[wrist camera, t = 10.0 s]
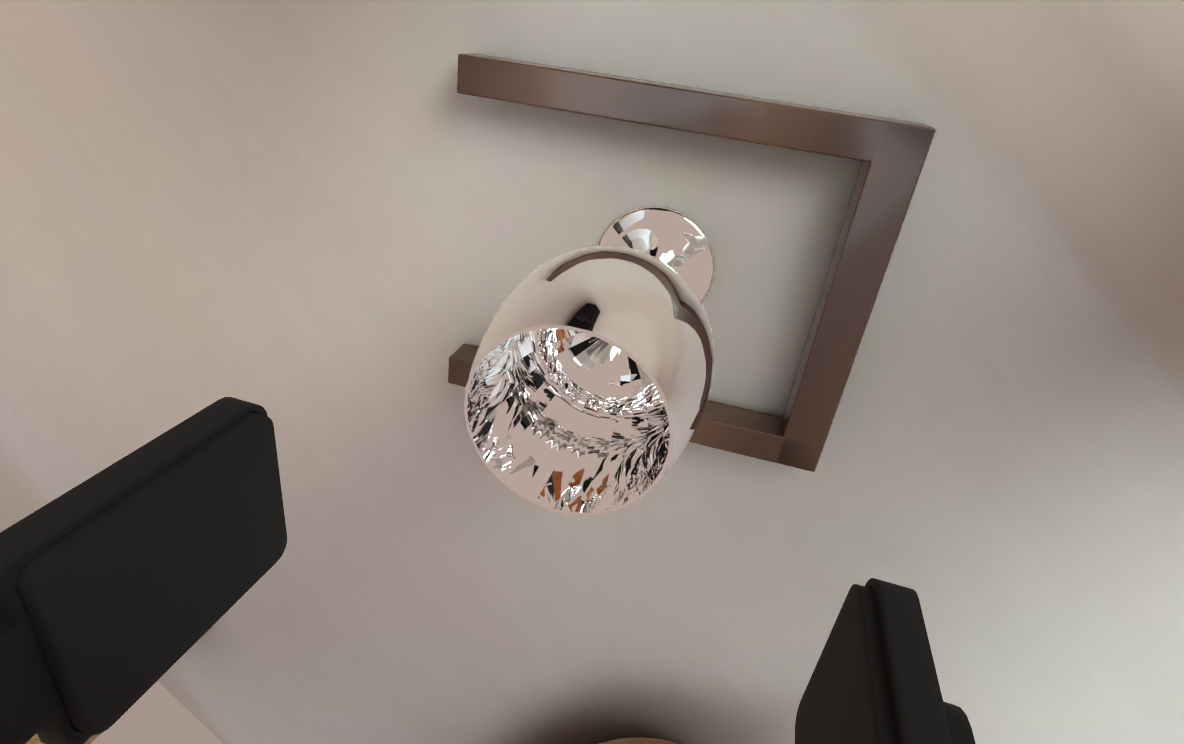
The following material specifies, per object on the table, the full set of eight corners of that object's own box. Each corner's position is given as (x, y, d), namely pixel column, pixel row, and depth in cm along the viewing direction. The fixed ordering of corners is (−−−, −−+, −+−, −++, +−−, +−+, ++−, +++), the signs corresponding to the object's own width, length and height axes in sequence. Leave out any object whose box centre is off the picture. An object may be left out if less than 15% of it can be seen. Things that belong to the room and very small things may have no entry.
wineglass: (554, 224, 24) (392, 350, 14) (698, 161, 22) (633, 253, 12) (617, 356, 26) (513, 556, 16) (755, 309, 24) (743, 505, 14)
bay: (925, 124, 20) (936, 129, 19) (812, 451, 26) (814, 472, 25) (476, 53, 23) (458, 53, 21) (462, 368, 28) (447, 383, 27)
